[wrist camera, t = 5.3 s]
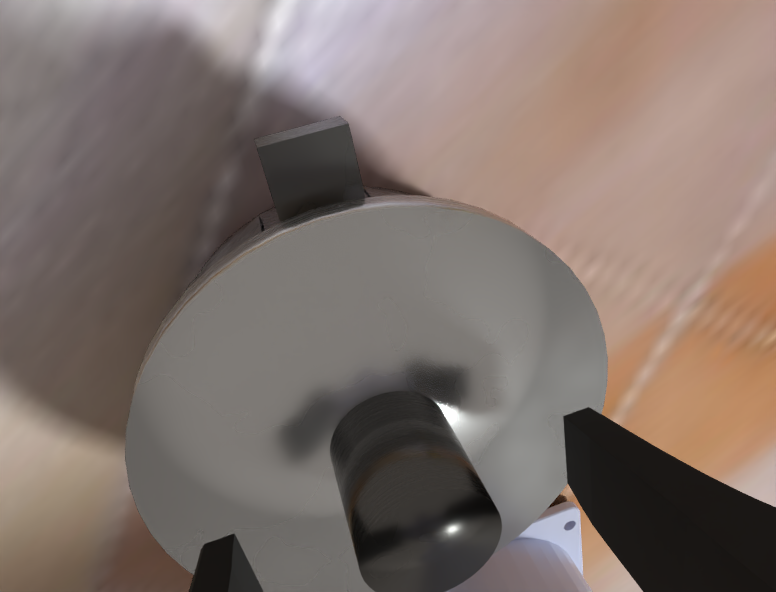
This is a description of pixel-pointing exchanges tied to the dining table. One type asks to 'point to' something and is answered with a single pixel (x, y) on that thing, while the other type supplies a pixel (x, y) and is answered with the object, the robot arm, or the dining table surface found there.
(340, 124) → the pot
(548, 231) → the dining table surface
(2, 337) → the dining table surface
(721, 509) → the robot arm
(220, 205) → the dining table surface
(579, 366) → the lid
